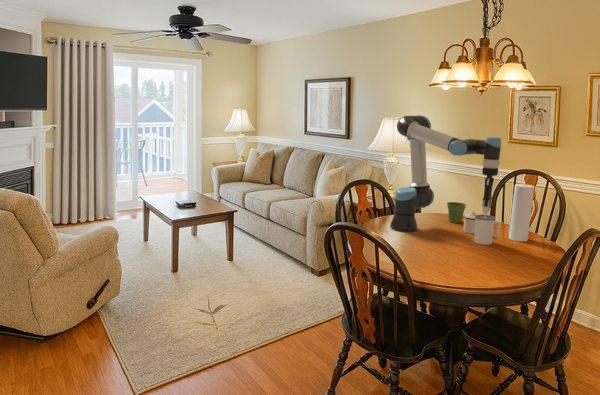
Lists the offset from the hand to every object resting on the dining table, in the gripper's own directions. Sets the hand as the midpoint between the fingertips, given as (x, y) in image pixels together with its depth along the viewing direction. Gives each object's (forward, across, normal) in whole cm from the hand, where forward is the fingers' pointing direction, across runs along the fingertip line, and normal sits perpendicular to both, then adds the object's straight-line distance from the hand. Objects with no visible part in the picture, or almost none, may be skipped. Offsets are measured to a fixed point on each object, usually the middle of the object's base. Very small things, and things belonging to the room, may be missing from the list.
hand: (486, 211), depth 243 cm
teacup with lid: (+17, +19, +9) cm, 27 cm away
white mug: (+17, 0, -1) cm, 17 cm away
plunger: (+13, 0, 0) cm, 13 cm away
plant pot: (+17, +37, +21) cm, 46 cm away
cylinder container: (+17, +17, -16) cm, 29 cm away
